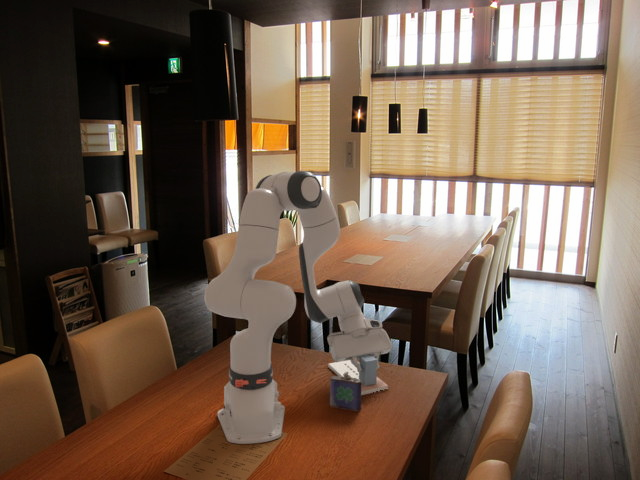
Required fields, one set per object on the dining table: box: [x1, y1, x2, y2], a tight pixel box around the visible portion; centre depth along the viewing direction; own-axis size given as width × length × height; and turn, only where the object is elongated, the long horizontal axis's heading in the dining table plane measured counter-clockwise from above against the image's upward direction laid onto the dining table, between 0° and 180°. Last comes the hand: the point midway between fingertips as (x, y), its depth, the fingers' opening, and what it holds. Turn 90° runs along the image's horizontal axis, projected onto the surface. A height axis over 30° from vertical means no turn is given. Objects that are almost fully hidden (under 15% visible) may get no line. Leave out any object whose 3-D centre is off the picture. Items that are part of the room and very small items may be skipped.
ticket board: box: [327, 360, 389, 396], centre depth 173 cm, size 22×10×1 cm, turn 25°
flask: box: [329, 372, 362, 412], centre depth 154 cm, size 9×3×11 cm, turn 73°
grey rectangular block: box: [358, 355, 378, 386], centre depth 166 cm, size 4×4×8 cm
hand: (369, 369), depth 165 cm, fingers closed on grey rectangular block, 4 cm apart
